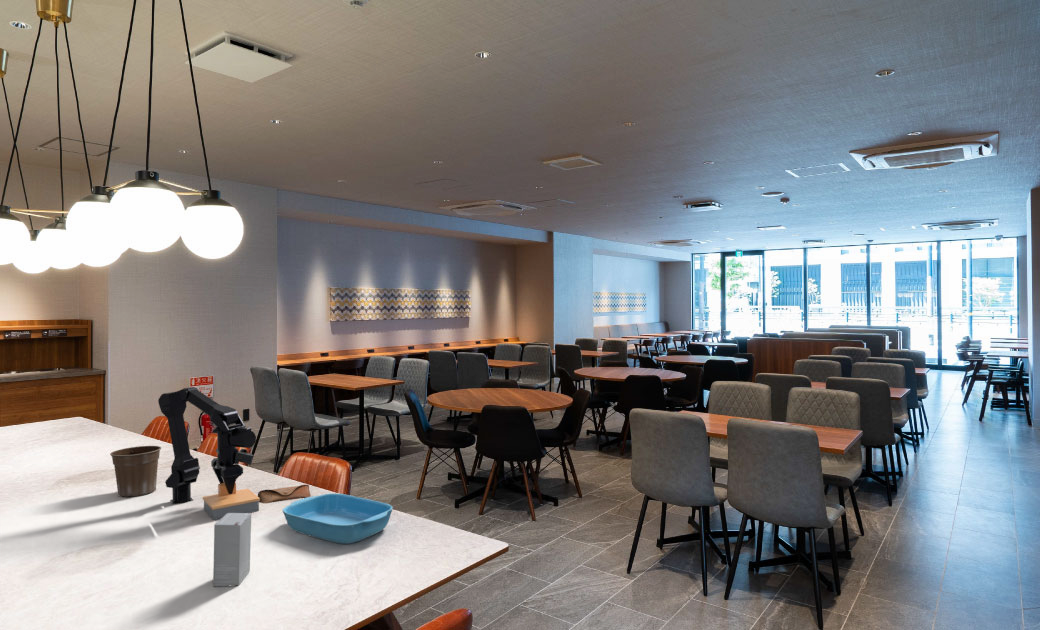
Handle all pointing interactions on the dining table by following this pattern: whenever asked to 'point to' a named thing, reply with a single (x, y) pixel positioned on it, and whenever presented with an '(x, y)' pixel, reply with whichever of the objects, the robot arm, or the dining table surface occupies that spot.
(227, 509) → the tub
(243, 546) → the skincare box
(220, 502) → the lid
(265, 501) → the sunglasses case
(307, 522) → the casserole dish
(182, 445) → the robot arm
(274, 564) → the dining table surface
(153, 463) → the plant pot
